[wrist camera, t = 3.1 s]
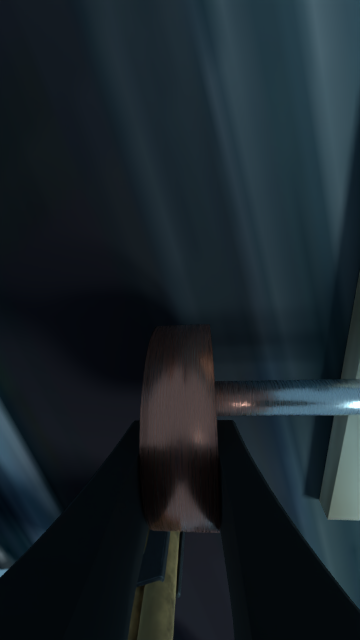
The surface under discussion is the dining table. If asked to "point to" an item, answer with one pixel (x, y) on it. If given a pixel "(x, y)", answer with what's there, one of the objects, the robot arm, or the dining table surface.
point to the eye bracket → (345, 441)
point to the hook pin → (207, 423)
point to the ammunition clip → (157, 586)
